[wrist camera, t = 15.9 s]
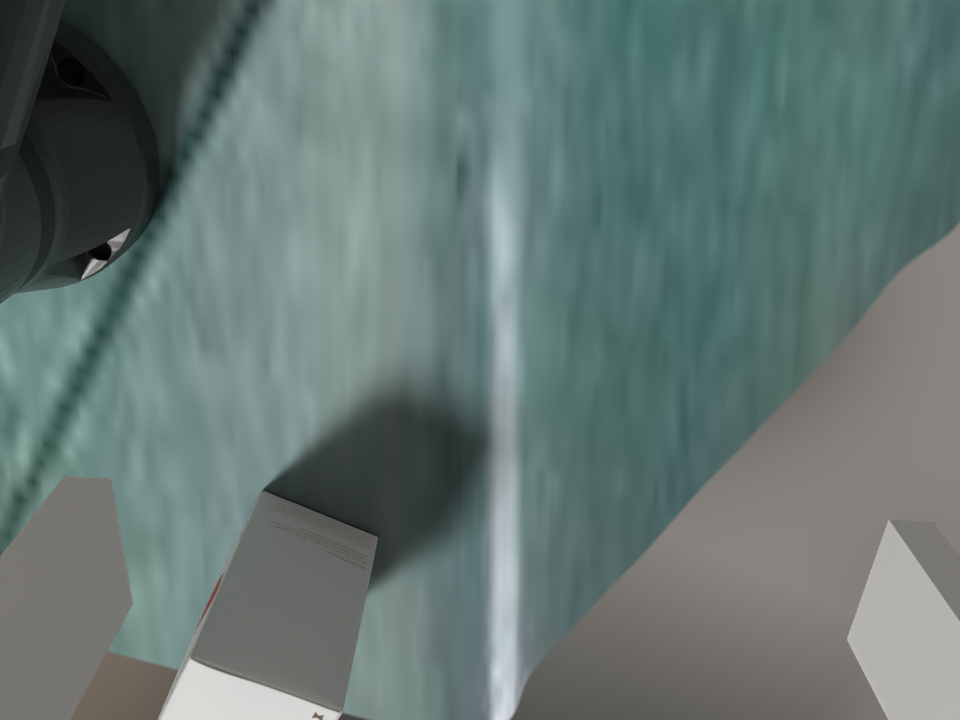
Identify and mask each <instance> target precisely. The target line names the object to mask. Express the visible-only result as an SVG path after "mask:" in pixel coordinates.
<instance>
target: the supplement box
mask: <svg viewBox="0 0 960 720" xmlns="http://www.w3.org/2000/svg"><path fill="white" fill-rule="evenodd" d="M377 541H378V537H377V536H374V535H372V534H369V533H367V532H364V531H362V530H359V529H357V528H354V527H352V526H350V525H347V524H345V523H342V522H340V521H337V520H335V519H332V518H330V517H327V516H325V515H323V514H320V513H318V512H315V511H313V510H310V509H308V508H305V507H303V506H300V505H298V504H295V503H293V502H290V501H288V500H285V499H283V498H280V497H278V496H275V495H273V494H271V493H268V492H266V491H262V492H261V493H260V495H259V497H258V499H257V500H256V502H255V504H254V506H253V508H252V510H251V512H250V514H249V516H248V518H247V520H246V522H245V524H244V527H243V529H242V531H241V533H240V535H239V537H238V539H237V541H236V543H235V545H234V547H233V549H232V551H231V553H230V556H229V558H228V560H227V562H226V564H225V566H224V568H223V570H222V573H221V575H220V577H219V579H218V581H217V584H216V586H215V588H214V590H213V592H212V595H211V597H210V599H209V601H208V604H207V606H206V608H205V610H204V613H203V615H202V617H201V620H200V622H199V624H198V627H197V629H196V631H195V634H194V636H193V638H192V641H191V643H190V645H189V648H188V650H187V652H186V655H185V657H184V659H183V661H182V664H181V666H180V668H179V671H178V673H177V675H176V678H175V680H174V683H173V685H172V687H171V690H170V692H169V694H168V697H167V699H166V701H165V704H164V706H163V708H162V711H161V713H160V716H159V718H158V720H338V719H339V717H340V715H341V714H342V712H343V707H344V702H345V697H346V692H347V687H348V683H349V678H350V673H351V668H352V663H353V658H354V653H355V649H356V644H357V639H358V634H359V629H360V624H361V619H362V615H363V610H364V605H365V600H366V595H367V590H368V586H369V581H370V576H371V571H372V566H373V561H374V556H375V551H376V546H377Z"/></svg>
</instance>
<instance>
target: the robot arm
mask: <svg viewBox="0 0 960 720" xmlns="http://www.w3.org/2000/svg"><path fill="white" fill-rule="evenodd" d="M65 2H66V0H0V304H1V303H2V302H3V301H5V300H6V299H7V298H8V297H10V296H11V295H12V294H15V293H23V292H30V291H38V290H45V289H53V288H59V287H64V286H68V285H71V284H74V283H77V282H80V281H82V280H85V279H87V278H89V277H91V276H93V275H95V274H97V273H99V272H100V271H102V270H103V269H105V268H106V267H108V266H109V265H110V264H111V263H113V262H114V261H115V260H116V259H117V258H119V257H120V256H121V255H122V254H123V253H125V252H126V251H127V250H128V249H129V248H130V247H131V246H132V245H133V244H134V243H135V242H136V240H137V239H138V238H139V237H140V235H141V234H142V232H143V231H144V229H145V227H146V225H147V224H148V222H149V219H150V217H151V215H152V212H153V209H154V206H155V202H156V198H157V193H158V187H159V159H158V152H157V146H156V141H155V137H154V134H153V130H152V127H151V124H150V122H149V119H148V116H147V114H146V112H145V110H144V107H143V105H142V103H141V101H140V100H139V98H138V96H137V94H136V93H135V91H134V89H133V88H132V86H131V85H130V83H129V82H128V80H127V79H126V77H125V76H124V75H123V73H122V72H121V71H120V70H119V69H118V67H117V66H116V65H115V64H114V63H113V62H112V61H111V59H110V58H109V57H108V56H107V55H106V54H105V53H104V52H103V51H102V50H101V49H100V48H98V47H97V46H96V45H95V44H94V43H93V42H91V41H90V40H89V39H88V38H86V37H85V36H84V35H82V34H81V33H80V32H78V31H77V30H75V29H74V28H72V27H71V26H69V25H67V24H65V23H64V22H62V21H60V19H61V15H62V12H63V9H64V6H65ZM132 604H133V602H132V596H131V591H130V585H129V579H128V574H127V568H126V562H125V557H124V551H123V545H122V540H121V534H120V528H119V523H118V517H117V511H116V505H115V500H114V494H113V488H112V483H111V479H108V478H89V477H70V476H64V478H63V479H62V480H61V481H60V483H59V484H58V485H57V486H56V488H55V489H54V490H53V491H52V493H51V494H50V495H49V496H48V498H47V499H46V500H45V501H44V503H43V504H42V505H41V506H40V508H39V509H38V510H37V511H36V513H35V514H34V515H33V516H32V518H31V519H30V520H29V521H28V523H27V524H26V525H25V526H24V528H23V529H22V530H21V531H20V533H19V534H18V535H17V536H16V538H15V539H14V540H13V541H12V543H11V544H10V545H9V546H8V548H7V549H6V550H5V551H4V553H3V554H2V555H1V556H0V720H70V719H71V717H72V715H73V713H74V711H75V709H76V708H77V706H78V704H79V702H80V700H81V698H82V696H83V695H84V693H85V691H86V689H87V687H88V685H89V684H90V682H91V680H92V678H93V676H94V674H95V672H96V671H97V669H98V667H99V665H100V663H101V661H102V660H103V658H104V656H105V654H106V652H107V650H108V649H109V647H110V645H111V643H112V641H113V639H114V637H115V636H116V634H117V632H118V630H119V628H120V626H121V625H122V623H123V621H124V619H125V617H126V615H127V614H128V612H129V610H130V608H131V606H132ZM847 641H848V643H849V645H850V646H851V648H852V650H853V652H854V654H855V656H856V658H857V660H858V662H859V664H860V666H861V668H862V670H863V672H864V674H865V676H866V678H867V679H868V681H869V683H870V685H871V687H872V689H873V691H874V693H875V695H876V697H877V699H878V701H879V702H880V704H881V706H882V709H883V710H884V712H885V714H886V716H887V718H888V720H960V556H959V555H958V553H957V552H956V551H955V549H954V548H953V547H952V545H951V544H950V543H949V541H948V540H947V539H946V538H945V536H944V535H943V534H942V532H941V531H940V530H939V528H938V527H937V526H936V525H935V523H934V522H926V521H925V522H924V521H907V520H888V523H887V526H886V529H885V532H884V535H883V538H882V541H881V543H880V546H879V549H878V552H877V555H876V558H875V561H874V563H873V566H872V569H871V572H870V575H869V578H868V581H867V584H866V587H865V589H864V593H863V595H862V598H861V601H860V604H859V606H858V610H857V612H856V615H855V618H854V621H853V624H852V627H851V629H850V632H849V635H848V638H847Z"/></svg>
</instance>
